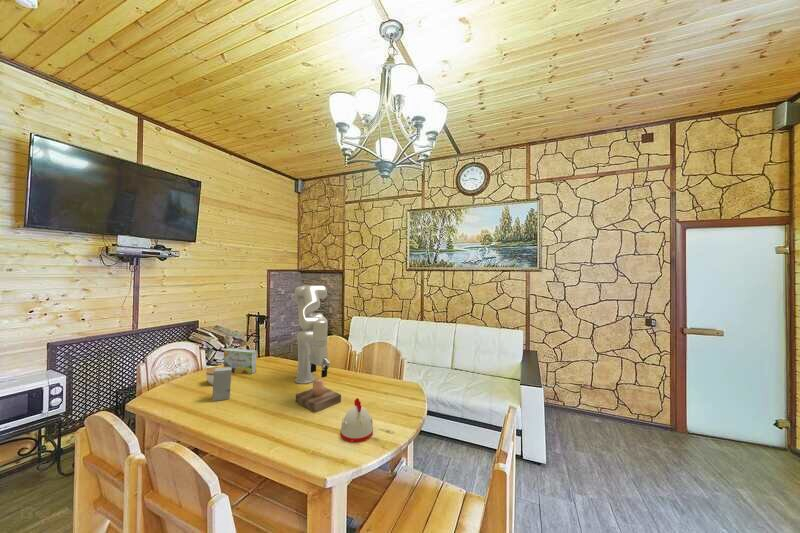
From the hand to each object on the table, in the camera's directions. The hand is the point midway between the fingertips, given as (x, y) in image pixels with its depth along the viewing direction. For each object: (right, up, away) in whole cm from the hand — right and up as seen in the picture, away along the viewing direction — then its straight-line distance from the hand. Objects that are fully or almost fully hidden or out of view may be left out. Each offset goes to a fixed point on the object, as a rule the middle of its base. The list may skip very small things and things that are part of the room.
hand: (318, 374), depth 161 cm
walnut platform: (0, -14, -1) cm, 14 cm away
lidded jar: (-68, -13, +21) cm, 73 cm away
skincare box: (-53, -13, +1) cm, 54 cm away
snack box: (-65, -14, +42) cm, 78 cm away
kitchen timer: (+25, -15, -30) cm, 42 cm away
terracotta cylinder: (0, -10, -1) cm, 10 cm away
